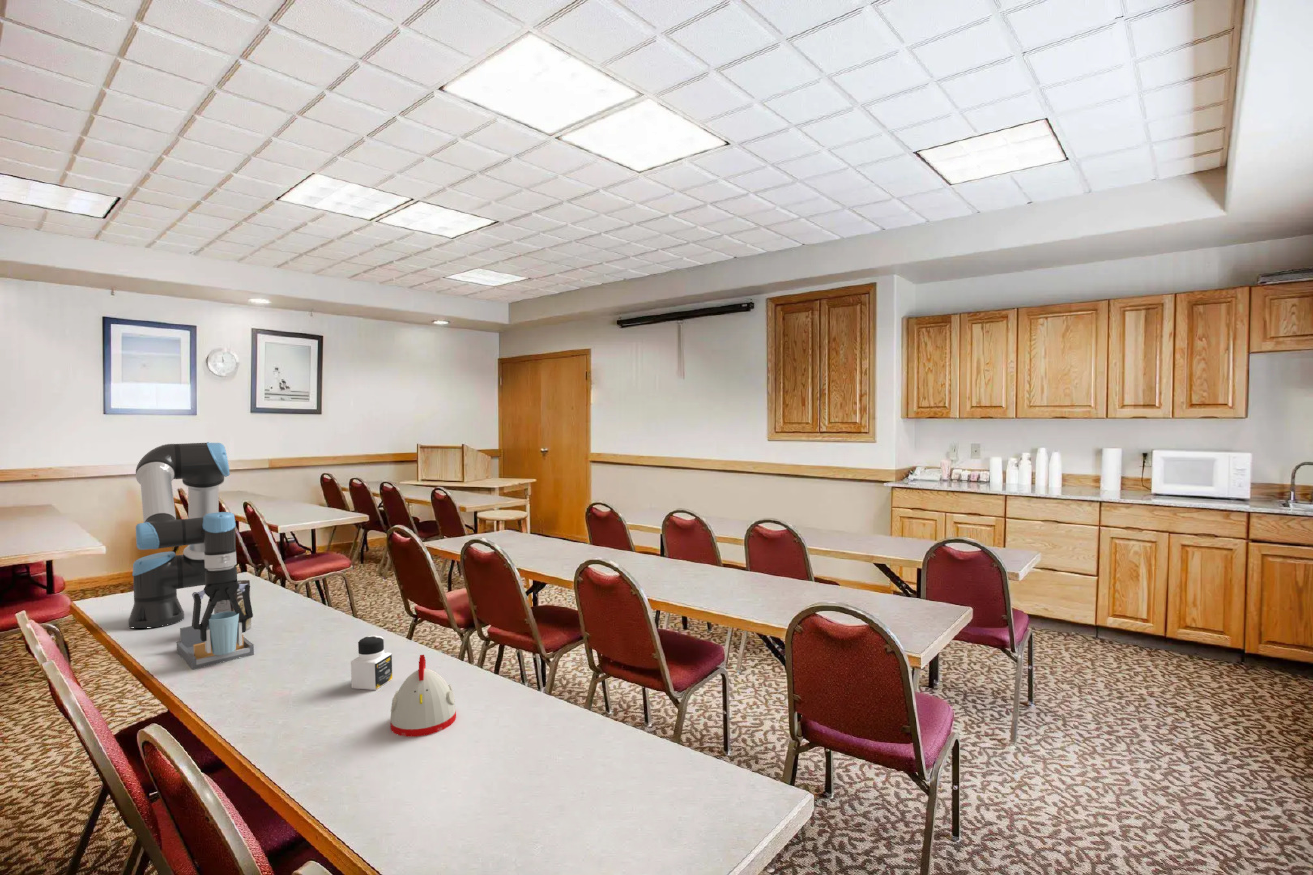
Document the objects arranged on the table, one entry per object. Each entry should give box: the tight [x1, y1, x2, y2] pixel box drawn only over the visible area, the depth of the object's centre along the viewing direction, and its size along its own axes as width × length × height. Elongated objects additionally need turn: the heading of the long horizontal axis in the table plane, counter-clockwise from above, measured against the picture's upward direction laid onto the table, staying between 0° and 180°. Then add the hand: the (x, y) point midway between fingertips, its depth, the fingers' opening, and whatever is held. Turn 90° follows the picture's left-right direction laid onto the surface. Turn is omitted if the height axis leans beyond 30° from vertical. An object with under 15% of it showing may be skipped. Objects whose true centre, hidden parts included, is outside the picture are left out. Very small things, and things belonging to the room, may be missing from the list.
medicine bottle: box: [350, 635, 393, 691], centre depth 168 cm, size 7×7×12 cm
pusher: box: [193, 634, 245, 659], centre depth 191 cm, size 6×12×4 cm, turn 136°
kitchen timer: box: [390, 654, 457, 738], centre depth 147 cm, size 14×14×15 cm
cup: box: [208, 611, 239, 655], centre depth 185 cm, size 8×8×10 cm
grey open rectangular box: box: [176, 625, 255, 670], centre depth 193 cm, size 20×15×7 cm
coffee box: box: [213, 579, 252, 631], centre depth 212 cm, size 9×6×16 cm
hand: (224, 647), depth 186 cm, fingers closed on cup, 7 cm apart
